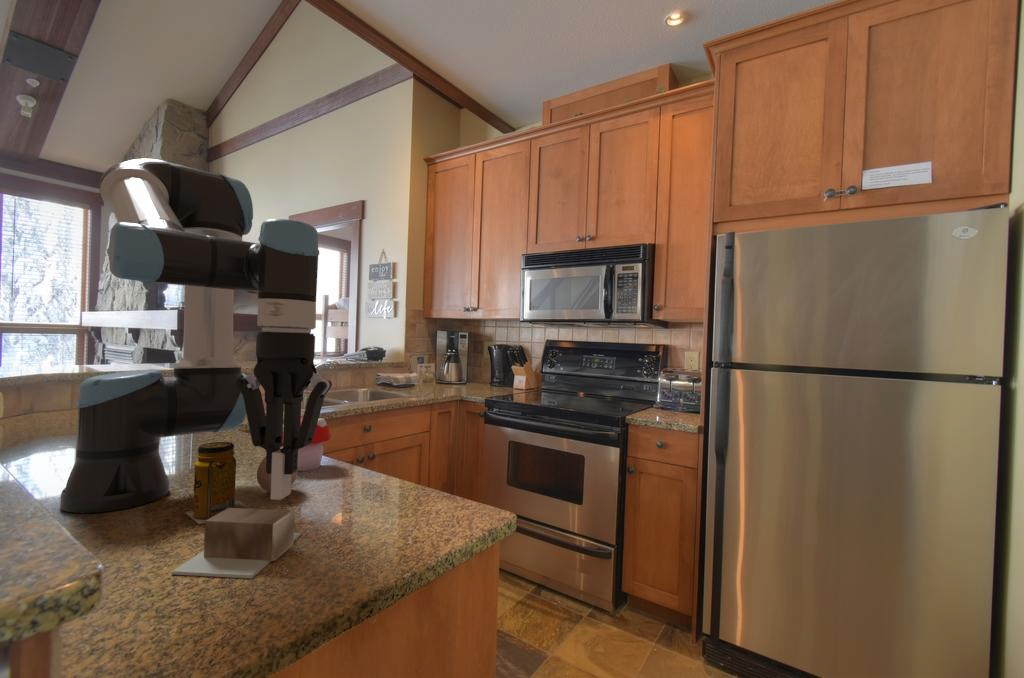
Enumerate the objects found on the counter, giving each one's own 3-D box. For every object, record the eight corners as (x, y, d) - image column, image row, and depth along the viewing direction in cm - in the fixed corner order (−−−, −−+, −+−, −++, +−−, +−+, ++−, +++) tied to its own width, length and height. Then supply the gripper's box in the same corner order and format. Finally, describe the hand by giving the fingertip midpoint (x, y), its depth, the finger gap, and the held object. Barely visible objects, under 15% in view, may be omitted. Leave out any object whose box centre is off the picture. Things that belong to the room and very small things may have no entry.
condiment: (184, 513, 79) (187, 443, 79) (238, 501, 86) (241, 437, 86) (198, 525, 75) (201, 451, 75) (254, 511, 81) (257, 443, 81)
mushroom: (269, 469, 106) (270, 417, 106) (306, 458, 116) (308, 410, 116) (304, 475, 102) (305, 421, 102) (339, 464, 112) (341, 414, 112)
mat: (171, 574, 59) (171, 571, 59) (235, 532, 72) (235, 529, 72) (251, 578, 59) (251, 575, 59) (300, 535, 72) (301, 532, 72)
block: (275, 560, 63) (203, 557, 63) (293, 544, 68) (227, 541, 68) (276, 524, 63) (205, 520, 63) (294, 510, 68) (228, 507, 68)
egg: (265, 486, 94) (267, 445, 94) (302, 486, 95) (303, 446, 95) (249, 498, 87) (250, 454, 87) (288, 498, 88) (290, 455, 88)
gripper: (224, 328, 62) (218, 503, 62) (320, 332, 62) (313, 507, 62) (257, 329, 70) (251, 485, 70) (342, 332, 69) (336, 489, 69)
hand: (280, 496), depth 66 cm, fingers closed
